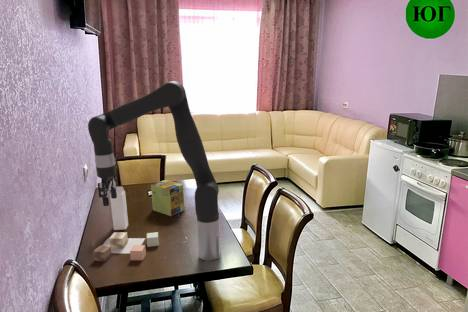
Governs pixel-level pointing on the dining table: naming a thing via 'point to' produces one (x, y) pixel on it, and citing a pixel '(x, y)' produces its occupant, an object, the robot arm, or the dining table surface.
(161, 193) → the protein box
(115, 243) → the birch block
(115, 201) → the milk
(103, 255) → the walnut block
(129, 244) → the mat
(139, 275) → the dining table surface
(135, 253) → the terracotta block
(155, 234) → the sage block
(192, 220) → the dining table surface
